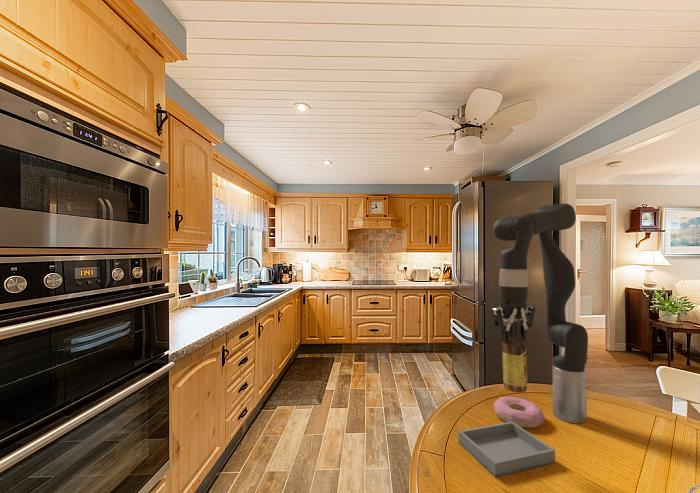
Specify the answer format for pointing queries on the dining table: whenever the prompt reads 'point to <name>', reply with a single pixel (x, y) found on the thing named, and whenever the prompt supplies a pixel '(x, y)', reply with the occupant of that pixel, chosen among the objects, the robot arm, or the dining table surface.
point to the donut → (519, 412)
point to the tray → (506, 448)
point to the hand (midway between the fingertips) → (513, 342)
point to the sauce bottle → (515, 360)
